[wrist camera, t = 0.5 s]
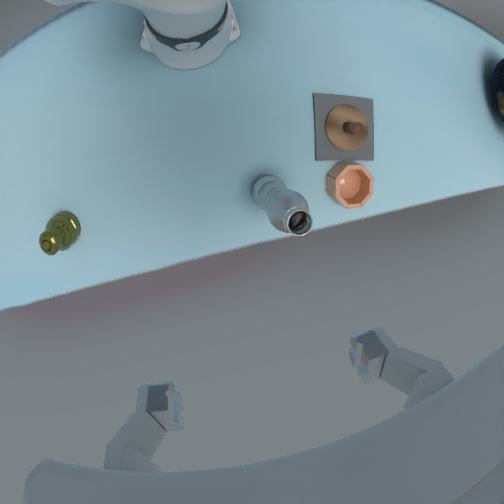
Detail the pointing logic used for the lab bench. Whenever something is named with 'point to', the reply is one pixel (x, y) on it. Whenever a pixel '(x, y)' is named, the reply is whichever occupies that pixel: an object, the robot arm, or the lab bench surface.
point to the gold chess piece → (59, 233)
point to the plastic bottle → (283, 206)
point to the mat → (322, 143)
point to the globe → (498, 88)
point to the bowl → (350, 184)
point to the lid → (346, 127)
